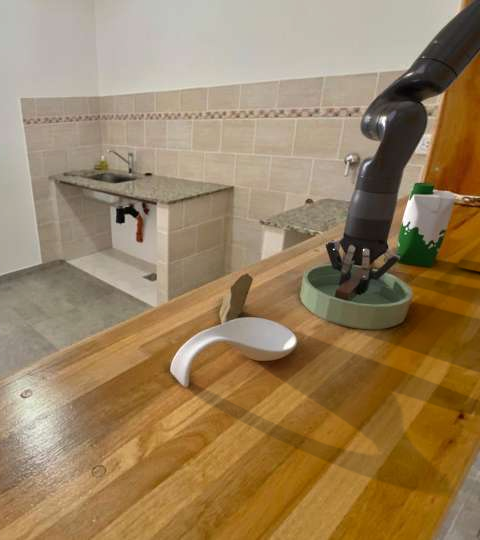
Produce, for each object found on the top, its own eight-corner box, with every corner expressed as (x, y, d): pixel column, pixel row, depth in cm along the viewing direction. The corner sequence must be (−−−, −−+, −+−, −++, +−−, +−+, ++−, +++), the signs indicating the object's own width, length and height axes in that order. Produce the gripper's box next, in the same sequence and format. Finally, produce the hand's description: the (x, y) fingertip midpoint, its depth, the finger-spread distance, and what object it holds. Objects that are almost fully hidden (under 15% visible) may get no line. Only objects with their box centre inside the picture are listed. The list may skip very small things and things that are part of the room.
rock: (243, 333, 71) (272, 307, 76) (219, 293, 71) (249, 270, 76) (207, 340, 80) (235, 317, 85) (185, 305, 80) (214, 284, 86)
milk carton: (392, 252, 106) (411, 180, 98) (433, 257, 102) (456, 182, 93) (393, 263, 100) (413, 187, 91) (436, 269, 95) (462, 190, 87)
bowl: (416, 303, 81) (423, 280, 79) (389, 343, 70) (396, 317, 67) (320, 277, 95) (324, 257, 92) (284, 307, 83) (287, 284, 80)
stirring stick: (356, 279, 86) (359, 267, 85) (368, 282, 84) (371, 270, 83) (333, 302, 77) (336, 289, 76) (346, 306, 76) (349, 293, 74)
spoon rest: (259, 326, 77) (263, 294, 74) (309, 357, 67) (316, 323, 64) (159, 363, 68) (158, 329, 65) (199, 406, 58) (201, 368, 55)
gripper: (419, 214, 71) (395, 295, 78) (339, 202, 80) (324, 276, 88) (408, 224, 67) (384, 309, 74) (325, 210, 76) (310, 287, 83)
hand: (351, 291), depth 81 cm, fingers closed on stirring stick, 2 cm apart
